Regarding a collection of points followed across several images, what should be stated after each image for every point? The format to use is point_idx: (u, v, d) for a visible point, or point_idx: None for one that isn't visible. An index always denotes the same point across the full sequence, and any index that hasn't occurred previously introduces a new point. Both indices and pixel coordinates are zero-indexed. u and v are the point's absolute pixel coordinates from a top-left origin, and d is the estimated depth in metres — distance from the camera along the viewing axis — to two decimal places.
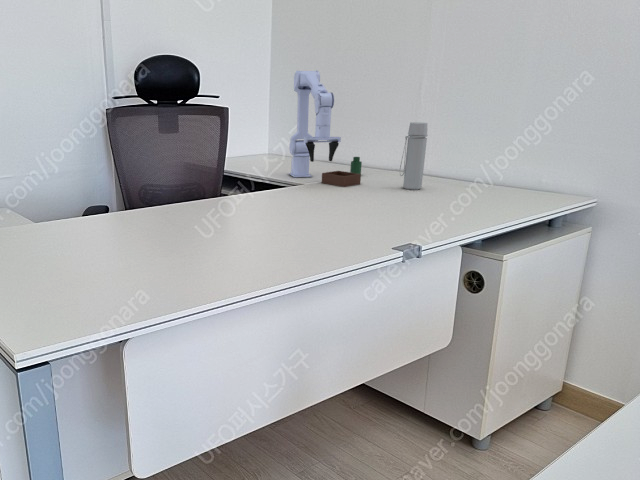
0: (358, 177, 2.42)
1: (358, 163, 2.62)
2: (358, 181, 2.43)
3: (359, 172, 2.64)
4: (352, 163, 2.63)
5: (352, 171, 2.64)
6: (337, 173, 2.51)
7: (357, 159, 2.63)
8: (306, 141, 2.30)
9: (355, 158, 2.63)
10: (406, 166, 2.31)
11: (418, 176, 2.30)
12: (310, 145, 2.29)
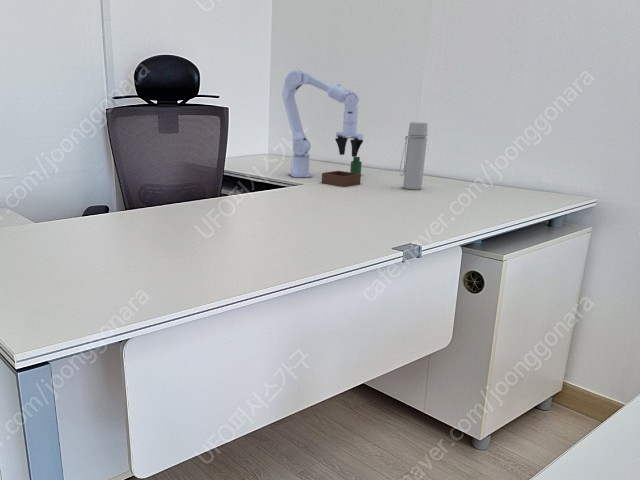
0: (358, 177, 2.42)
1: (358, 163, 2.62)
2: (358, 181, 2.43)
3: (359, 172, 2.64)
4: (352, 163, 2.63)
5: (352, 171, 2.64)
6: (337, 173, 2.51)
7: (357, 159, 2.63)
8: None
9: (355, 158, 2.63)
10: (406, 166, 2.31)
11: (418, 176, 2.30)
12: None
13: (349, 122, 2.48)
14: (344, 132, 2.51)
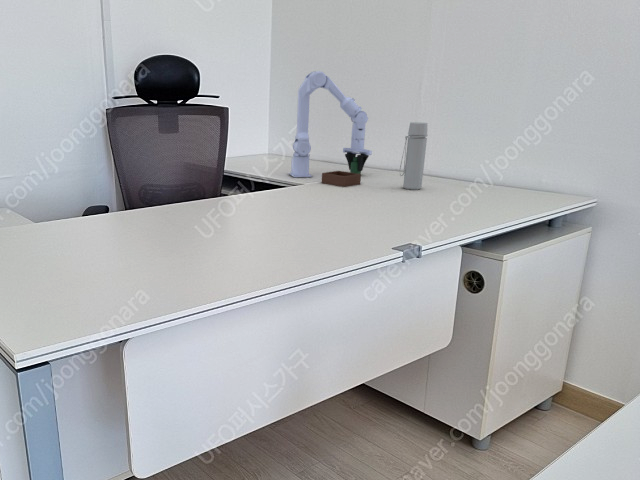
0: (358, 177, 2.42)
1: None
2: (358, 181, 2.43)
3: (359, 172, 2.64)
4: (352, 163, 2.63)
5: (352, 171, 2.64)
6: (337, 173, 2.51)
7: (357, 159, 2.63)
8: None
9: (355, 158, 2.63)
10: (406, 166, 2.31)
11: (418, 176, 2.30)
12: None
13: (359, 138, 2.58)
14: (353, 148, 2.61)
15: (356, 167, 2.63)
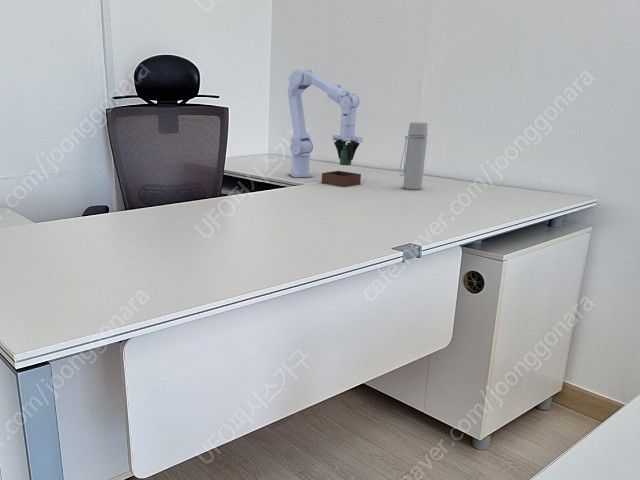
0: (358, 177, 2.42)
1: None
2: (358, 181, 2.43)
3: (349, 161, 2.46)
4: (342, 151, 2.45)
5: (342, 160, 2.46)
6: (337, 173, 2.51)
7: (347, 147, 2.44)
8: None
9: (345, 146, 2.44)
10: (406, 166, 2.31)
11: (418, 176, 2.30)
12: None
13: (344, 125, 2.40)
14: (342, 135, 2.42)
15: (346, 156, 2.44)
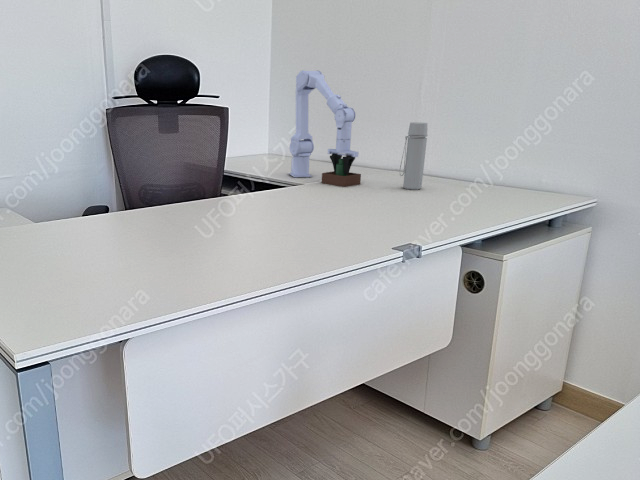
0: (358, 177, 2.42)
1: None
2: (358, 181, 2.43)
3: (345, 175, 2.43)
4: (337, 165, 2.42)
5: (337, 174, 2.43)
6: None
7: None
8: None
9: (341, 160, 2.41)
10: (406, 166, 2.31)
11: (418, 176, 2.30)
12: None
13: (338, 138, 2.38)
14: (338, 149, 2.39)
15: (342, 170, 2.42)
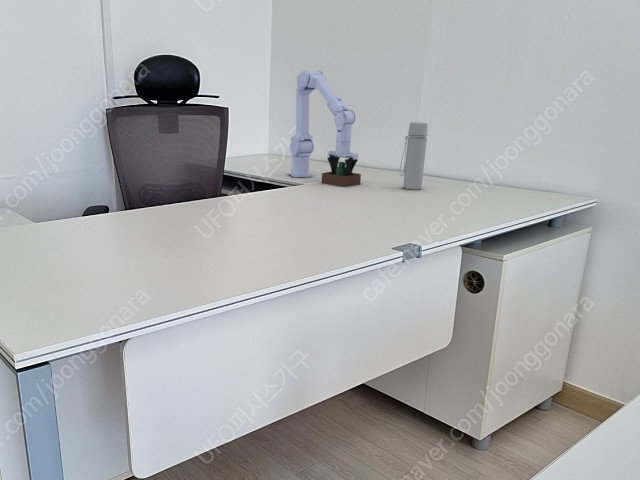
0: (358, 177, 2.42)
1: (344, 169, 2.41)
2: (358, 181, 2.43)
3: None
4: (337, 169, 2.42)
5: None
6: None
7: (342, 165, 2.42)
8: None
9: (340, 163, 2.42)
10: (406, 166, 2.31)
11: (418, 176, 2.30)
12: None
13: (338, 141, 2.38)
14: (338, 151, 2.39)
15: (341, 173, 2.42)
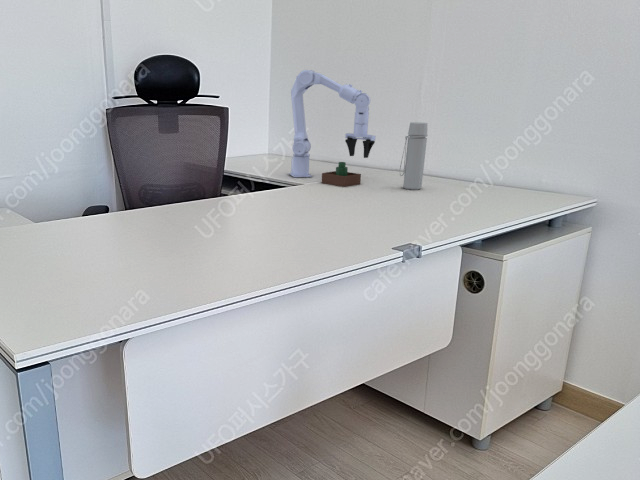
0: (358, 177, 2.42)
1: (344, 169, 2.41)
2: (358, 181, 2.43)
3: None
4: (337, 169, 2.42)
5: None
6: None
7: (342, 165, 2.42)
8: None
9: (340, 163, 2.42)
10: (406, 166, 2.31)
11: (418, 176, 2.30)
12: None
13: (360, 123, 2.46)
14: (356, 133, 2.48)
15: (341, 173, 2.42)
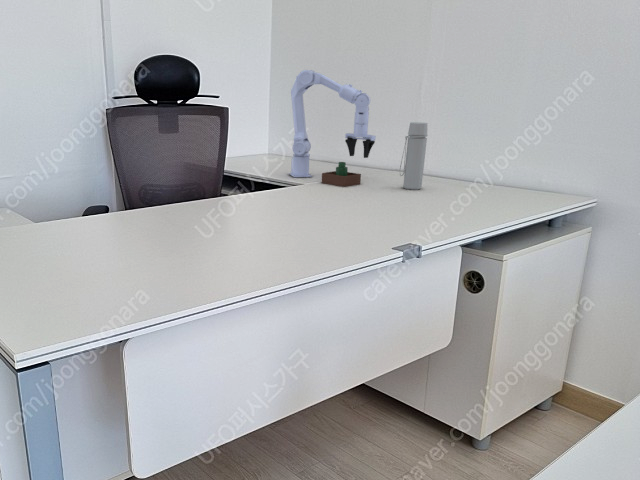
0: (358, 177, 2.42)
1: (344, 169, 2.41)
2: (358, 181, 2.43)
3: None
4: (337, 169, 2.42)
5: None
6: None
7: (342, 165, 2.42)
8: None
9: (340, 163, 2.42)
10: (406, 166, 2.31)
11: (418, 176, 2.30)
12: None
13: (360, 123, 2.46)
14: (356, 133, 2.48)
15: (341, 173, 2.42)
